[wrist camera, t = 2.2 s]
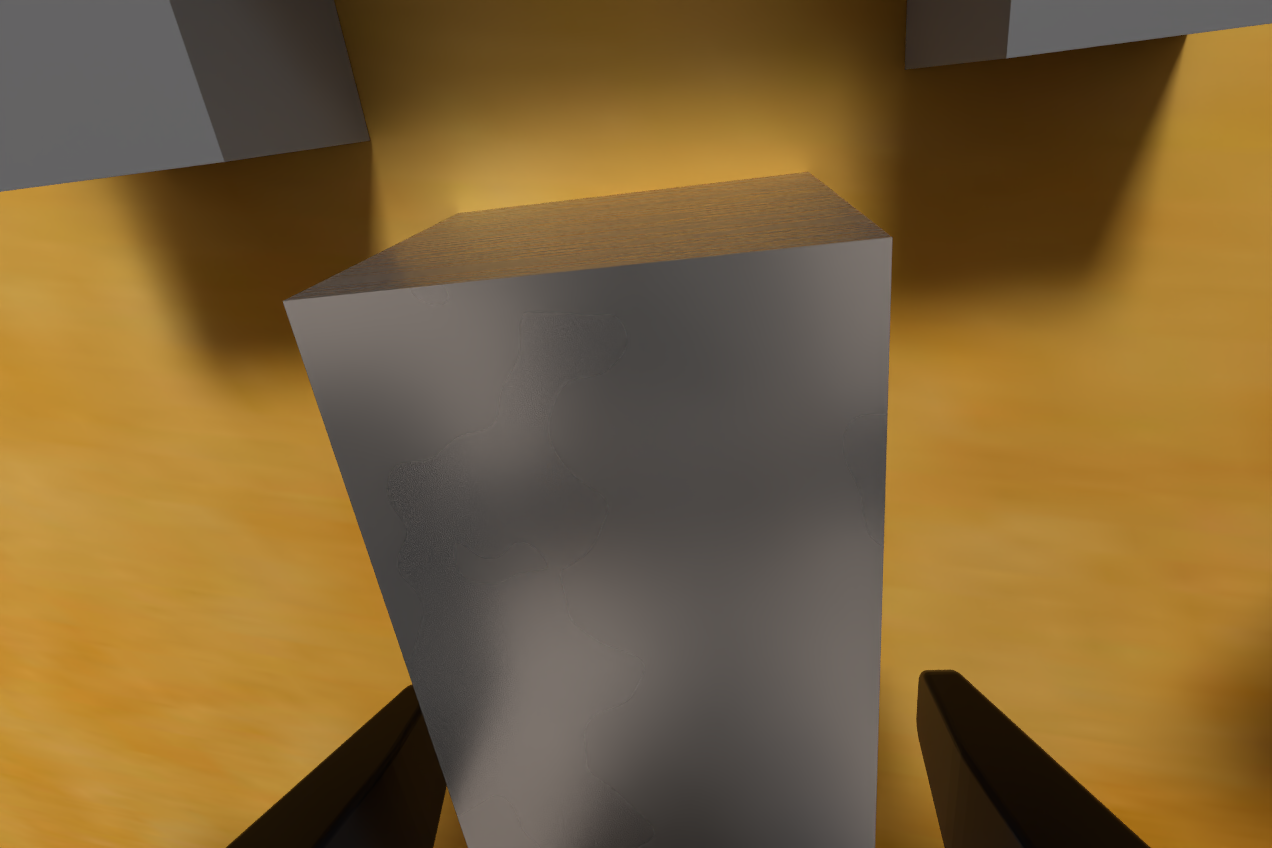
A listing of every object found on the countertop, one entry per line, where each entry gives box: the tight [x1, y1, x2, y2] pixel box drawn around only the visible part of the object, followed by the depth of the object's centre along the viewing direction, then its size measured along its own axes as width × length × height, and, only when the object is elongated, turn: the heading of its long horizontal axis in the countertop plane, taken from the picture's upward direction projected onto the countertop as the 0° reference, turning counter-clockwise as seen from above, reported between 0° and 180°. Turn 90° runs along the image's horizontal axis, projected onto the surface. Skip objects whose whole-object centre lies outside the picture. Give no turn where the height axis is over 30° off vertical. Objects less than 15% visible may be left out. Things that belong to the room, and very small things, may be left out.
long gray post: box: [283, 172, 892, 848], centre depth 10 cm, size 12×4×4 cm, turn 7°
